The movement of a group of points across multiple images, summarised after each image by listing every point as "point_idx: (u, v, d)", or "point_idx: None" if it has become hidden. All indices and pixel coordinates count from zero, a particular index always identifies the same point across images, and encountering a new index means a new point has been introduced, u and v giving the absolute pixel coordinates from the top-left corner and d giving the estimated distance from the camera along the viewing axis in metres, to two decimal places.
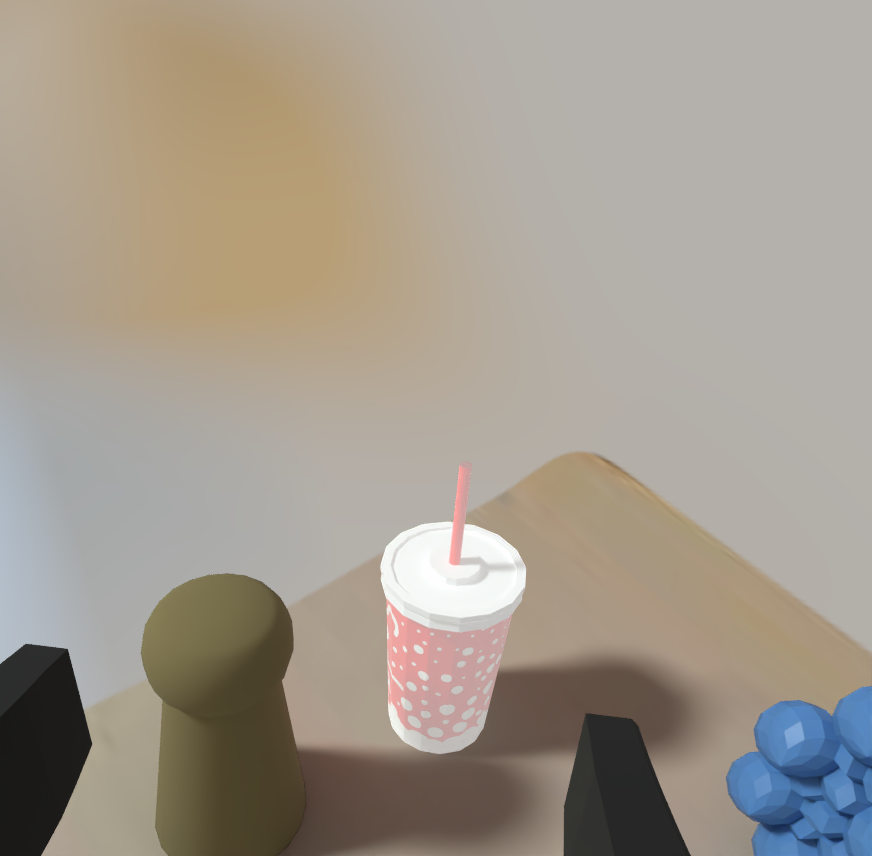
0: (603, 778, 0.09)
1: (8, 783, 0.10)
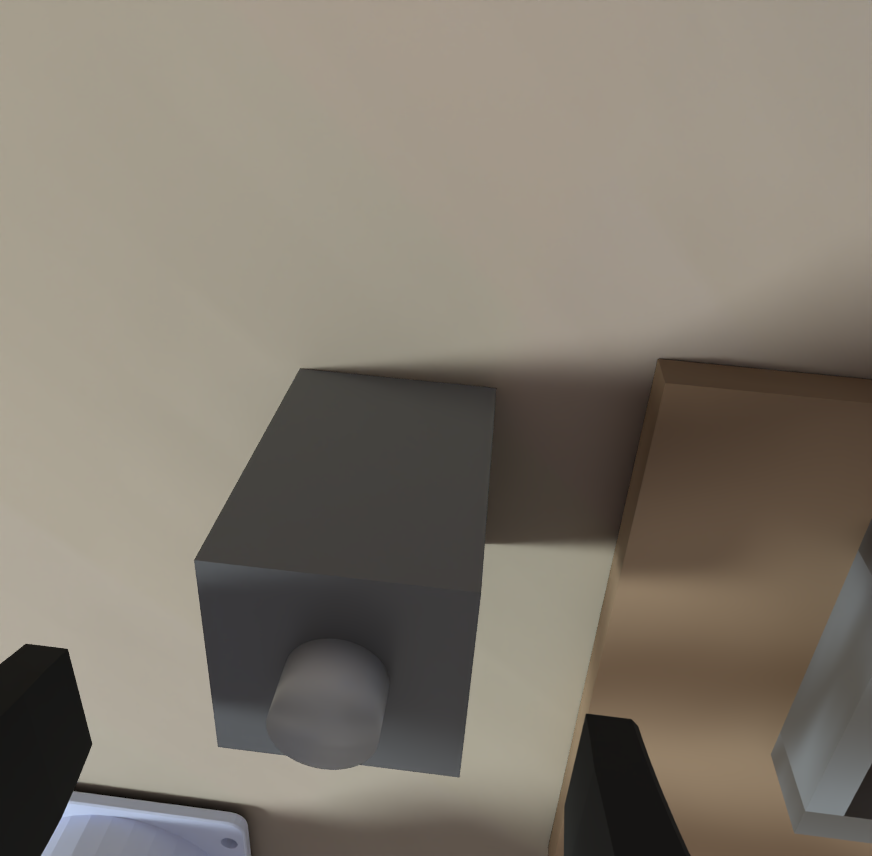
0: (603, 778, 0.09)
1: (8, 783, 0.10)
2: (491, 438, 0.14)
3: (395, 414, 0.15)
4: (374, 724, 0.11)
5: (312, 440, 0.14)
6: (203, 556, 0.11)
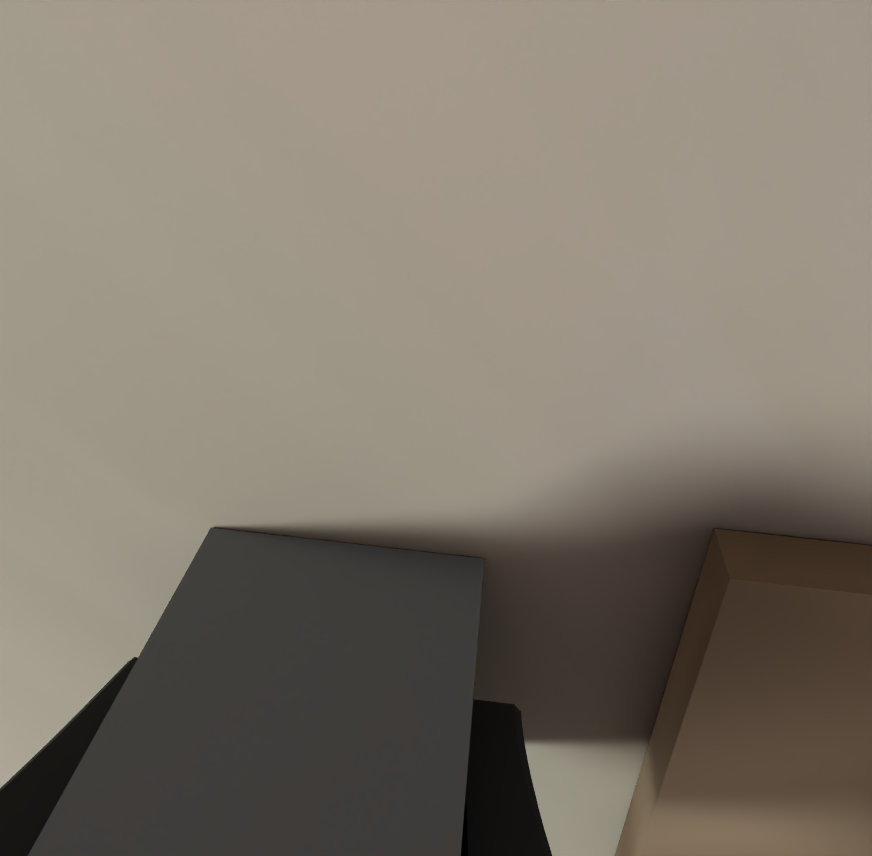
0: (471, 761, 0.09)
1: None
2: (474, 663, 0.10)
3: (336, 617, 0.10)
4: None
5: (205, 675, 0.09)
6: None
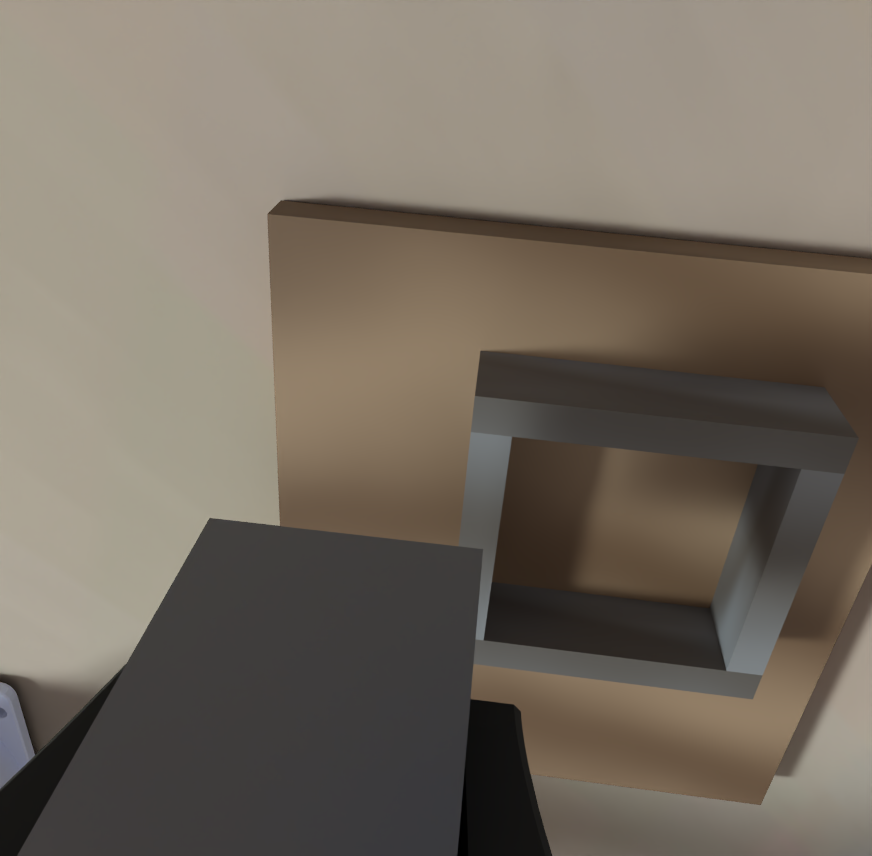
0: (471, 761, 0.09)
1: None
2: (472, 652, 0.10)
3: (334, 606, 0.10)
4: None
5: (204, 663, 0.09)
6: None
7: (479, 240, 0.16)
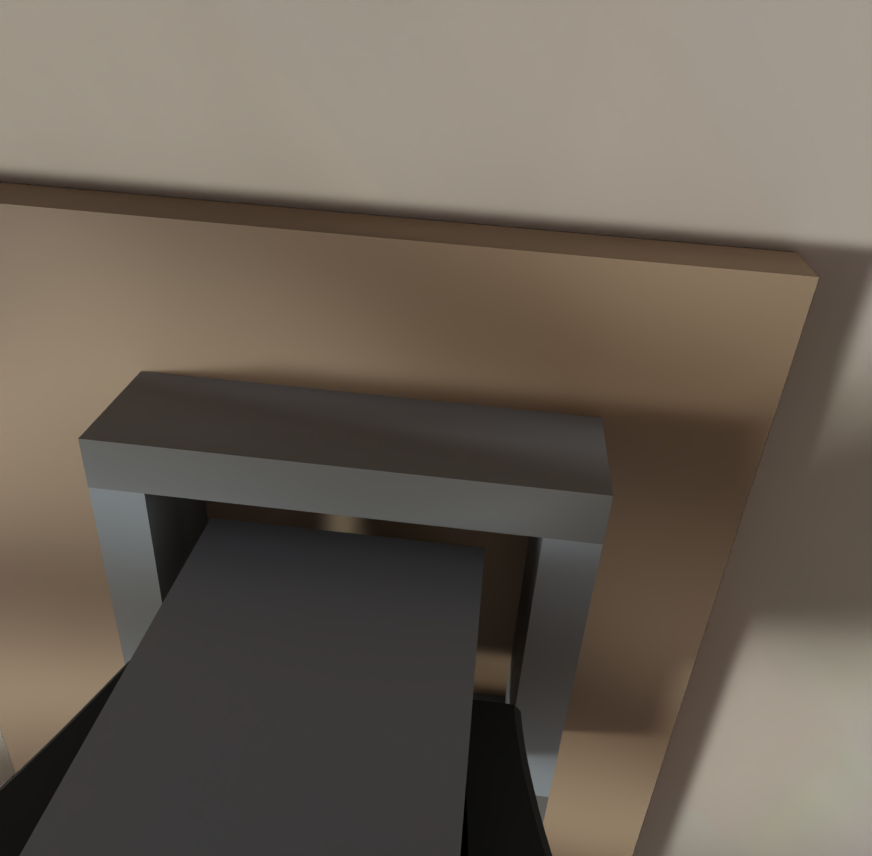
0: (471, 761, 0.09)
1: None
2: (474, 650, 0.10)
3: (336, 605, 0.10)
4: None
5: (206, 662, 0.09)
6: None
7: (100, 220, 0.11)
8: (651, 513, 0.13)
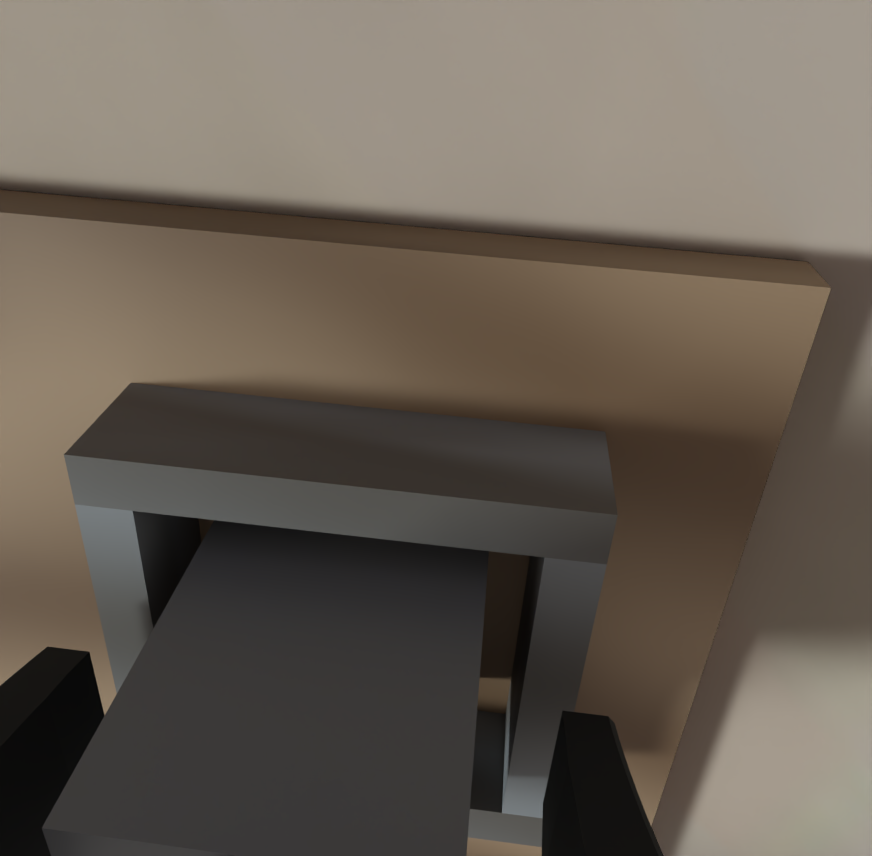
0: (577, 774, 0.09)
1: (32, 786, 0.10)
2: (485, 585, 0.11)
3: (358, 546, 0.11)
4: None
5: (244, 592, 0.10)
6: (56, 819, 0.08)
7: (88, 228, 0.11)
8: (656, 529, 0.12)
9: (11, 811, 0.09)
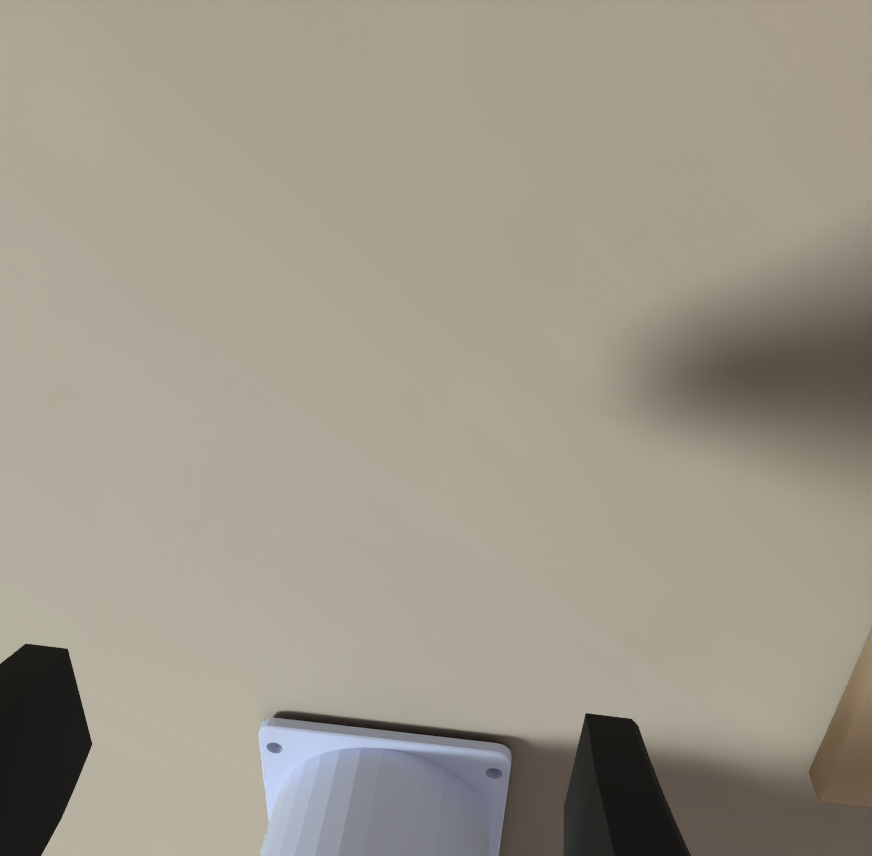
0: (603, 778, 0.09)
1: (8, 783, 0.10)
2: None
3: None
4: None
5: None
6: None
7: None
8: None
9: None
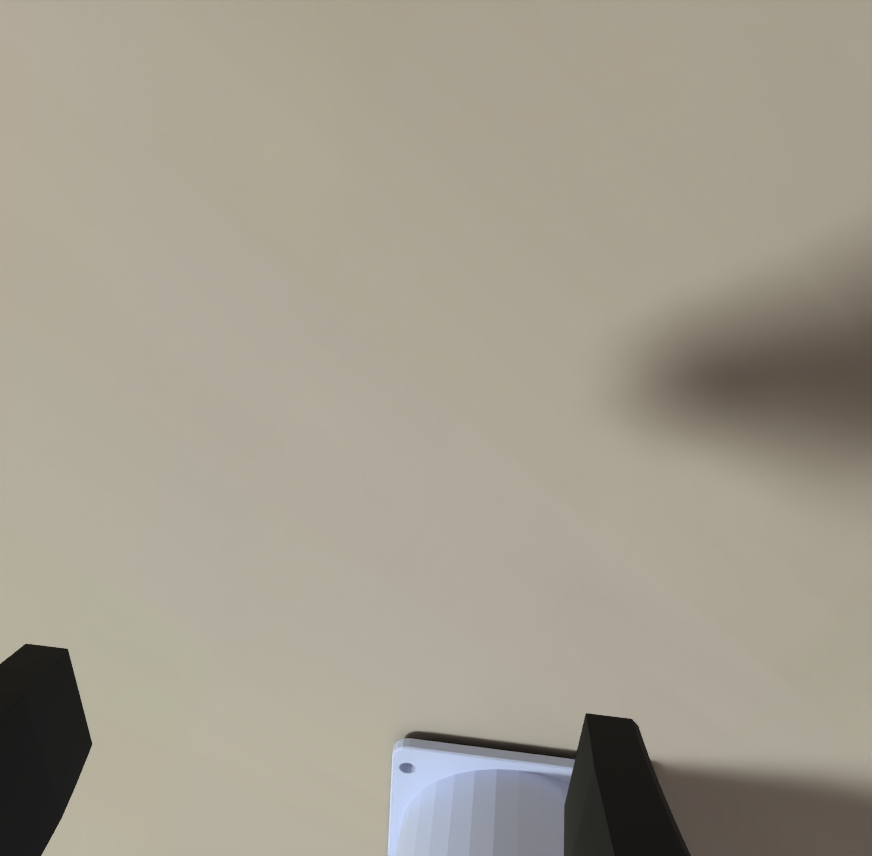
0: (603, 778, 0.09)
1: (8, 783, 0.10)
2: None
3: None
4: None
5: None
6: None
7: None
8: None
9: None
